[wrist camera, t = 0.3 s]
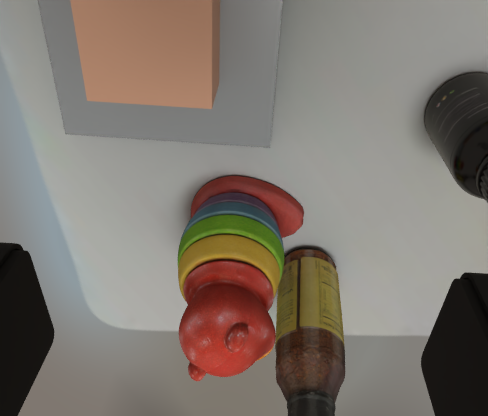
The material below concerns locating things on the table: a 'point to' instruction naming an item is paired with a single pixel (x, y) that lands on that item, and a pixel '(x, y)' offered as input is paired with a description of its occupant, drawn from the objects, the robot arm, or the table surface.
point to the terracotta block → (149, 51)
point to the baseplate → (180, 118)
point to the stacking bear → (232, 272)
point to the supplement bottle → (462, 130)
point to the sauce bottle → (309, 334)
